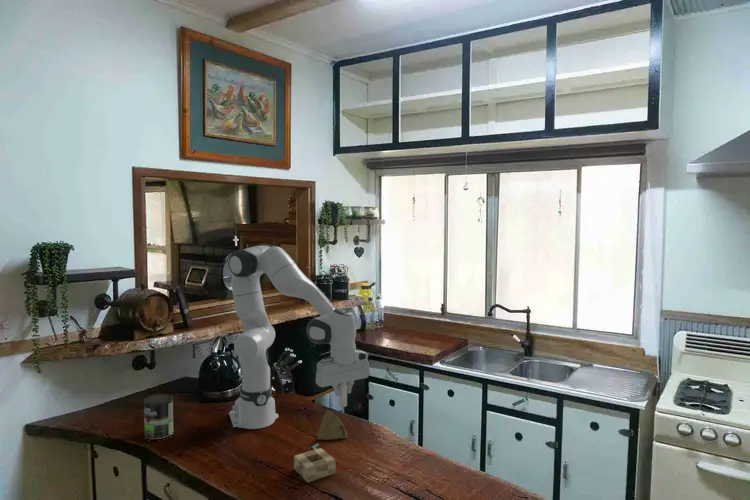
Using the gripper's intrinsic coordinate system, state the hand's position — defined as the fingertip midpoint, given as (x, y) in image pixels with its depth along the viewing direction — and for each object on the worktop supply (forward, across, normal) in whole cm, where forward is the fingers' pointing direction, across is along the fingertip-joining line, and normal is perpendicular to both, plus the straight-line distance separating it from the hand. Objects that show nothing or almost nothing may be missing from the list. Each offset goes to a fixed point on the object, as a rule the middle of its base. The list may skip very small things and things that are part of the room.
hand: (342, 394), depth 174 cm
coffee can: (+21, -51, +50) cm, 75 cm away
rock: (+21, +3, +12) cm, 24 cm away
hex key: (+21, -6, +4) cm, 22 cm away
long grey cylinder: (+4, 0, 0) cm, 4 cm away
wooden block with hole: (+21, -14, -6) cm, 26 cm away
